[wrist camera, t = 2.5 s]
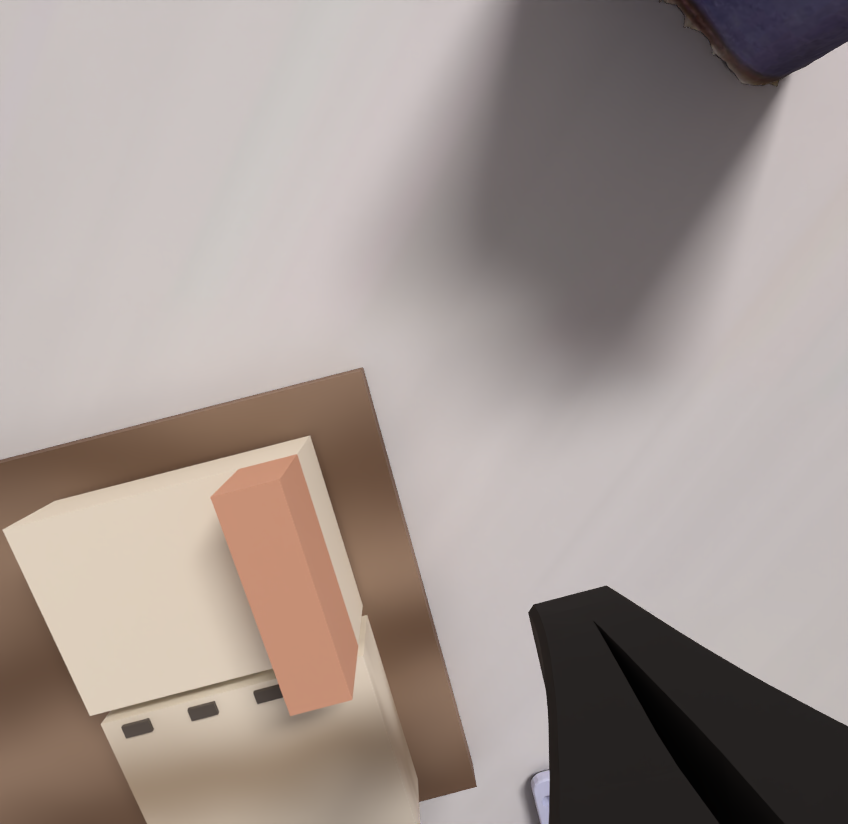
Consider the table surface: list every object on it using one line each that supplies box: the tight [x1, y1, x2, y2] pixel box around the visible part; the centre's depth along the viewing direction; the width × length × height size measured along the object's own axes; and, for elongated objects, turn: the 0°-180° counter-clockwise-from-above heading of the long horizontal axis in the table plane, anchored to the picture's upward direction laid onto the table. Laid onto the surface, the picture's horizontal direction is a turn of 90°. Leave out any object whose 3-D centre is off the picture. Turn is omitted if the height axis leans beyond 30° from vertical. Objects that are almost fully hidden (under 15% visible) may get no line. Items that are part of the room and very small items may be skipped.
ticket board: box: [0, 368, 477, 824], centre depth 16 cm, size 16×20×3 cm
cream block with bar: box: [3, 436, 363, 716], centre depth 13 cm, size 6×8×4 cm
